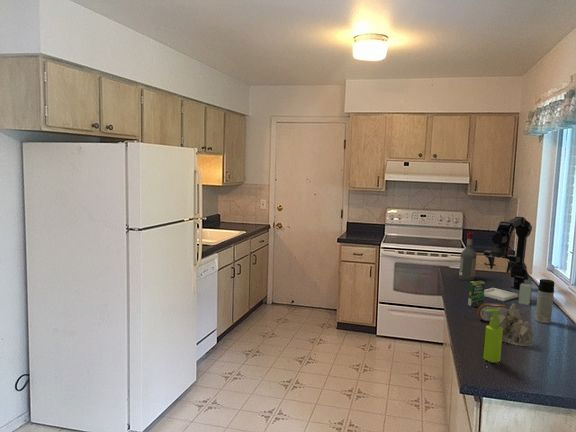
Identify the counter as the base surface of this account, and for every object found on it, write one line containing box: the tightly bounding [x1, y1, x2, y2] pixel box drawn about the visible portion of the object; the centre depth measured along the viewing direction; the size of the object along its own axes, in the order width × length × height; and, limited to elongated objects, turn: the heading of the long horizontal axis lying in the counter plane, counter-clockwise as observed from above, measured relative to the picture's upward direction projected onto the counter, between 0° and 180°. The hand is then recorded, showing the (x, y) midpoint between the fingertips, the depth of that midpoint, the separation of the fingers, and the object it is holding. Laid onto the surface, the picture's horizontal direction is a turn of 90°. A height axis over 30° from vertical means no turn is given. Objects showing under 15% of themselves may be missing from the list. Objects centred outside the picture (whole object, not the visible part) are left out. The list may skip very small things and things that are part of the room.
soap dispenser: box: [483, 309, 503, 362], centre depth 182 cm, size 6×7×20 cm
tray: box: [484, 287, 519, 302], centre depth 274 cm, size 15×15×2 cm
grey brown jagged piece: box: [488, 303, 535, 347], centre depth 205 cm, size 16×16×15 cm
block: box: [518, 283, 532, 306], centre depth 262 cm, size 5×5×10 cm
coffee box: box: [467, 280, 486, 308], centre depth 253 cm, size 8×3×13 cm, turn 107°
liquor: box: [458, 232, 477, 282], centre depth 310 cm, size 9×9×30 cm
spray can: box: [534, 278, 555, 324], centre depth 231 cm, size 7×7×20 cm
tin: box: [476, 302, 510, 322], centre depth 229 cm, size 15×3×8 cm, turn 84°
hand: (499, 271), depth 273 cm, fingers open, 9 cm apart
